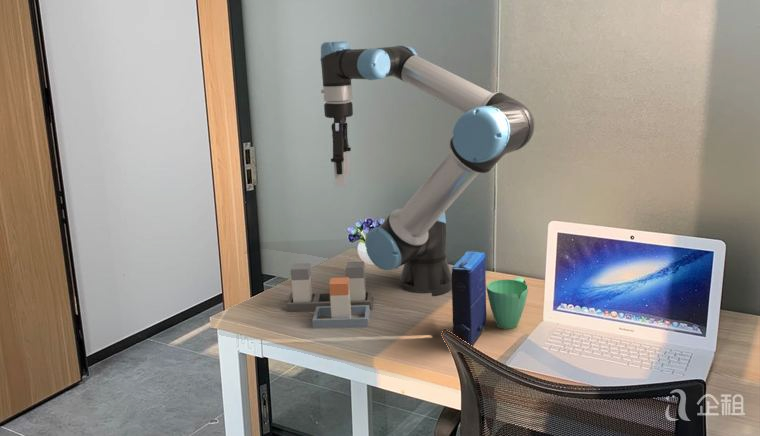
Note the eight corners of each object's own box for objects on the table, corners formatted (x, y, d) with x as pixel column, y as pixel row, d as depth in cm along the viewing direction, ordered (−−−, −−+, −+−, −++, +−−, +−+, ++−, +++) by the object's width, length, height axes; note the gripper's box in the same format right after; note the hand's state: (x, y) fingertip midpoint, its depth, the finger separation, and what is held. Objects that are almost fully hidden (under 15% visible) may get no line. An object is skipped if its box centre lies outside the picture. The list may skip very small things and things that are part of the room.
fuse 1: (312, 301, 184) (310, 263, 182) (310, 308, 180) (307, 268, 177) (296, 302, 185) (293, 263, 182) (293, 308, 180) (290, 269, 177)
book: (472, 353, 154) (471, 269, 148) (449, 349, 156) (447, 267, 151) (488, 327, 166) (488, 249, 161) (467, 324, 169) (466, 247, 163)
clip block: (373, 300, 186) (373, 289, 185) (372, 313, 178) (371, 302, 177) (291, 302, 187) (290, 292, 186) (285, 315, 179) (284, 305, 178)
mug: (518, 336, 161) (519, 296, 158) (480, 328, 166) (480, 290, 163) (539, 313, 173) (540, 276, 170) (503, 307, 178) (503, 270, 175)
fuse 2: (366, 300, 184) (364, 261, 181) (365, 306, 180) (363, 267, 177) (349, 300, 184) (347, 262, 181) (348, 307, 180) (345, 267, 177)
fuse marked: (351, 317, 174) (349, 277, 171) (350, 325, 170) (347, 283, 167) (333, 318, 174) (331, 277, 171) (332, 325, 170) (329, 284, 167)
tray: (369, 316, 176) (369, 305, 175) (368, 330, 168) (367, 318, 167) (317, 317, 177) (316, 306, 176) (313, 331, 168) (312, 320, 167)
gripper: (328, 97, 193) (333, 171, 199) (318, 107, 169) (324, 191, 175) (355, 96, 193) (359, 170, 199) (348, 106, 169) (353, 190, 175)
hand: (342, 180), depth 187 cm, fingers open, 13 cm apart
